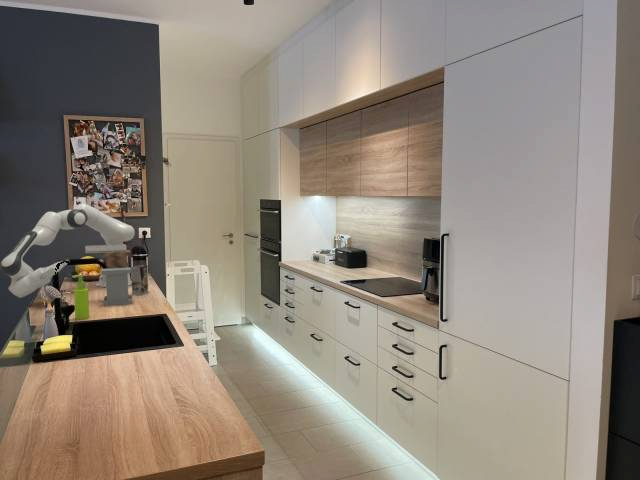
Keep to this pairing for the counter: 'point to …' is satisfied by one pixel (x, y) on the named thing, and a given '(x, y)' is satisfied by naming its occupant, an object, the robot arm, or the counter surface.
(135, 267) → the coffee box
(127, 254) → the walnut stand
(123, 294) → the grey stand
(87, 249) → the alu channel
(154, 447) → the counter surface
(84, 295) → the soap dispenser
